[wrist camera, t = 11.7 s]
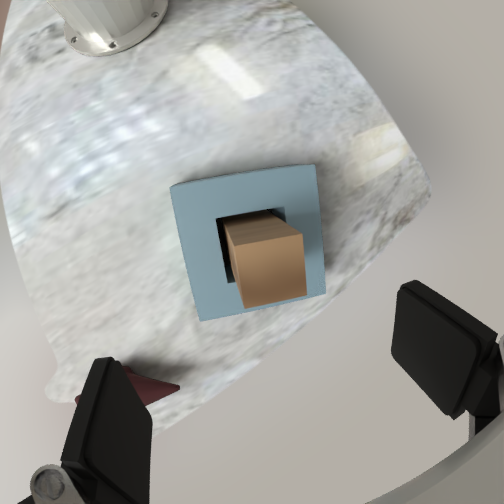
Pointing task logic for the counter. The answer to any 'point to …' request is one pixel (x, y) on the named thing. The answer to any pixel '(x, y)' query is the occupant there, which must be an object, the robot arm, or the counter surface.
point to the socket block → (237, 202)
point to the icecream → (147, 387)
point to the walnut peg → (265, 258)
